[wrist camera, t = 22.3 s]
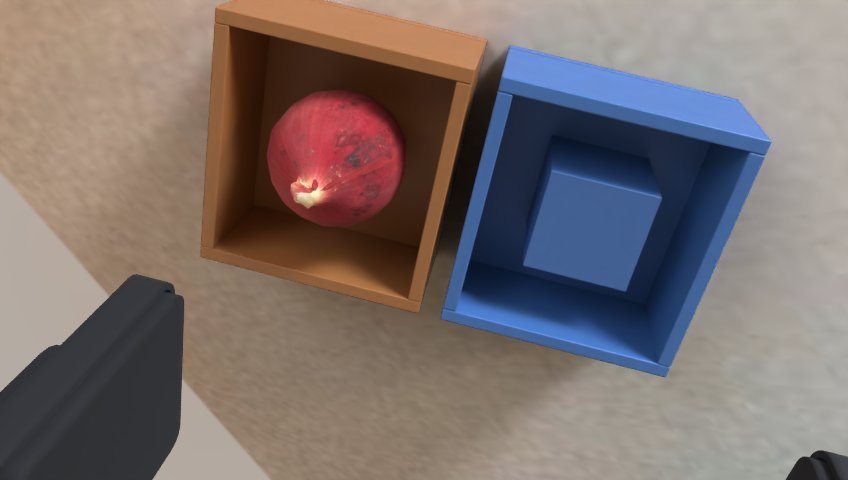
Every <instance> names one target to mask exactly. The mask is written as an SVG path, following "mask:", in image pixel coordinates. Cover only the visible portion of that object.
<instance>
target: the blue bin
mask: <svg viewBox="0 0 848 480" xmlns="http://www.w3.org/2000/svg"><path fill="white" fill-rule="evenodd" d="M552 135H553V136H558V137H562V138H566V139H570V140H574V141H578V142H582V143H586V144H590V145H594V146H598V147H602V148H607V149H611V150H615V151H619V152H623V153H627V154H631V155H635V156H639V157H643V158H647V159H649V160H650V163H651V166H652V169H653V172H654V175H655V178H656V181H657V184H658V187H659V190H660V193H661V196H662V200H661V202H660V205H659V207H658V210H657V213H656V215H655V218H654V220H653V223H652V225H651V228H650V230H649V233H648V236H647V238H646V241H645V243H644V246H643V248H642V251H641V254H640V256H639V259H638V261H637V264H636V266H635V269H634V271H633V274H632V277H631V279H630V282H629V284H628V287H627V289H626V291H621V290H617V289H613V288H609V287H605V286H601V285H597V284H593V283H589V282H585V281H582V280H578V279H574V278H570V277H566V276H562V275H558V274H554V273H550V272H546V271H542V270H538V269H534V268H530V267H527V266H523V254H524V242H525V230H526V220H527V217H528V214H529V210H530V207H531V203H532V200H533V197H534V193H535V190H536V187H537V183H538V180H539V177H540V173H541V170H542V167H543V163H544V160H545V157H546V153H547V150H548V146H549V143H550V140H551V136H552ZM770 144H771V140H770V139H769V138H768V136H767V135H766V134H765V133H764V131H763V130H762V129H761V128H760V126H759V125H758V124H757V123H756V121H755V120H754V119H753V118H752V116H751V115H750V114H749V113H748V112H747V110H746V109H745V108H744V107H743V105H742V104H741V103H740V102H739V100H737V99H733V98H729V97H725V96H720V95H716V94H712V93H708V92H704V91H699V90H695V89H691V88H687V87H683V86H679V85H674V84H670V83H666V82H662V81H658V80H654V79H649V78H645V77H641V76H637V75H633V74H628V73H624V72H620V71H616V70H612V69H608V68H603V67H599V66H595V65H591V64H587V63H582V62H578V61H574V60H570V59H566V58H562V57H557V56H553V55H549V54H545V53H541V52H536V51H532V50H528V49H524V48H520V47H516V46H509V50H508V53H507V57H506V61H505V65H504V69H503V72H502V76H501V80H500V84H499V88H498V92H497V96H496V100H495V104H494V108H493V112H492V116H491V120H490V123H489V127H488V131H487V135H486V139H485V143H484V147H483V151H482V155H481V159H480V163H479V167H478V171H477V175H476V179H475V183H474V187H473V191H472V195H471V199H470V202H469V206H468V210H467V214H466V218H465V222H464V226H463V230H462V234H461V238H460V242H459V246H458V250H457V254H456V258H455V262H454V266H453V270H452V274H451V278H450V282H449V285H448V289H447V293H446V297H445V301H444V305H443V309H442V313H441V317H440V318H441V319H442V320H446V321H450V322H454V323H458V324H462V325H465V326H469V327H473V328H477V329H481V330H485V331H489V332H492V333H496V334H500V335H504V336H508V337H512V338H516V339H519V340H523V341H527V342H531V343H535V344H539V345H542V346H546V347H550V348H554V349H558V350H562V351H566V352H569V353H573V354H577V355H581V356H585V357H589V358H593V359H596V360H600V361H604V362H608V363H612V364H616V365H620V366H623V367H627V368H631V369H635V370H639V371H643V372H647V373H650V374H654V375H658V376H662V377H666V375H667V373H668V371H669V368H670V366H671V364H672V362H673V360H674V358H675V355H676V353H677V351H678V349H679V346H680V344H681V342H682V340H683V338H684V335H685V333H686V331H687V329H688V326H689V324H690V322H691V320H692V318H693V315H694V313H695V311H696V309H697V306H698V304H699V302H700V300H701V298H702V295H703V293H704V291H705V289H706V287H707V284H708V282H709V280H710V278H711V275H712V273H713V271H714V269H715V267H716V264H717V262H718V260H719V258H720V255H721V253H722V251H723V249H724V247H725V244H726V242H727V240H728V238H729V235H730V233H731V231H732V229H733V227H734V224H735V222H736V220H737V218H738V216H739V213H740V211H741V209H742V207H743V204H744V202H745V200H746V198H747V196H748V193H749V191H750V189H751V187H752V184H753V182H754V180H755V178H756V176H757V173H758V171H759V169H760V167H761V165H762V162H763V160H764V158H765V156H764V155H766V153H767V151H768V149H769V147H770Z"/></svg>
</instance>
